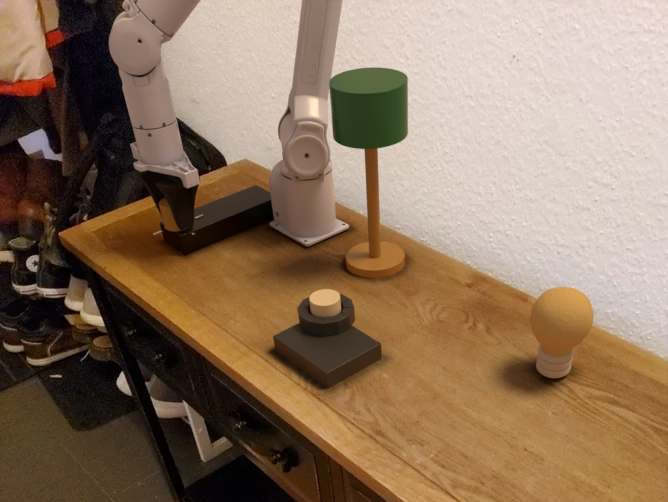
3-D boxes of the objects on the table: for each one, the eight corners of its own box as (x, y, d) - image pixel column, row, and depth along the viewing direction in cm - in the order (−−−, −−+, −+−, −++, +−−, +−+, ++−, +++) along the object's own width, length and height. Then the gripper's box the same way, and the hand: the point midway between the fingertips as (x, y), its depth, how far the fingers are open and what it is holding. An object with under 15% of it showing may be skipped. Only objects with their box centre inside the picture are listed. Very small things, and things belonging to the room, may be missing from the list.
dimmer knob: (173, 234, 103) (167, 208, 100) (159, 225, 105) (152, 199, 103) (198, 224, 105) (192, 198, 102) (183, 215, 107) (177, 190, 104)
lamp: (329, 263, 101) (313, 81, 85) (378, 240, 105) (372, 62, 89) (372, 288, 96) (364, 99, 80) (422, 263, 100) (424, 78, 84)
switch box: (268, 347, 88) (264, 318, 85) (332, 315, 92) (329, 286, 89) (328, 389, 82) (324, 359, 79) (393, 352, 86) (392, 323, 83)
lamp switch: (304, 310, 87) (302, 297, 85) (328, 298, 88) (327, 285, 87) (323, 322, 85) (322, 309, 83) (347, 310, 86) (346, 297, 85)
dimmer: (173, 265, 103) (168, 244, 101) (144, 245, 108) (138, 224, 106) (285, 218, 112) (283, 197, 109) (254, 201, 116) (251, 181, 114)
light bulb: (582, 391, 79) (599, 311, 72) (521, 386, 80) (532, 306, 73) (582, 356, 84) (597, 277, 77) (524, 352, 85) (534, 273, 78)
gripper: (100, 116, 97) (128, 214, 107) (154, 145, 89) (179, 249, 99) (147, 102, 100) (170, 199, 110) (204, 128, 92) (223, 231, 102)
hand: (177, 221), depth 105 cm, fingers closed on dimmer knob, 4 cm apart
